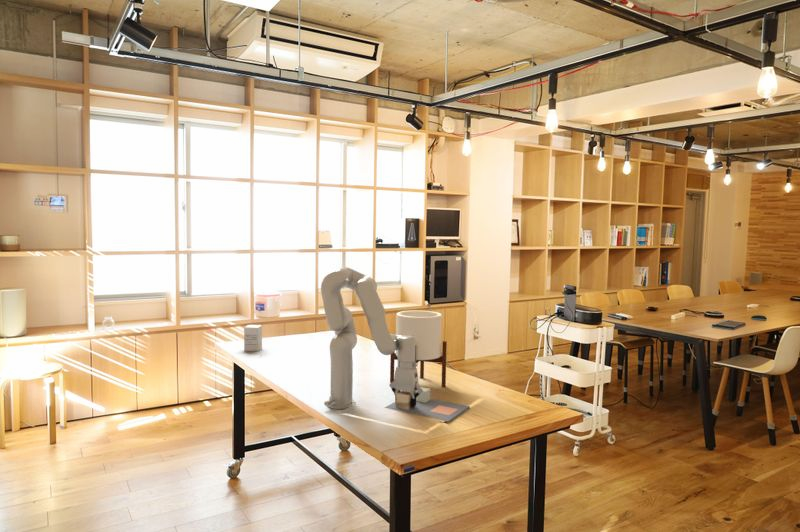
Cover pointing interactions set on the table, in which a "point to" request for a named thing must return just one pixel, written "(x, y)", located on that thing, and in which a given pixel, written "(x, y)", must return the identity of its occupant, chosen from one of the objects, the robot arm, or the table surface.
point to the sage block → (423, 395)
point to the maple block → (403, 400)
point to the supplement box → (252, 337)
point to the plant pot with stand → (422, 338)
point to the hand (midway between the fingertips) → (405, 404)
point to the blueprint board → (435, 409)
